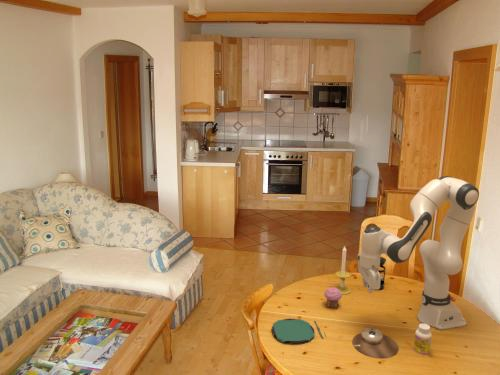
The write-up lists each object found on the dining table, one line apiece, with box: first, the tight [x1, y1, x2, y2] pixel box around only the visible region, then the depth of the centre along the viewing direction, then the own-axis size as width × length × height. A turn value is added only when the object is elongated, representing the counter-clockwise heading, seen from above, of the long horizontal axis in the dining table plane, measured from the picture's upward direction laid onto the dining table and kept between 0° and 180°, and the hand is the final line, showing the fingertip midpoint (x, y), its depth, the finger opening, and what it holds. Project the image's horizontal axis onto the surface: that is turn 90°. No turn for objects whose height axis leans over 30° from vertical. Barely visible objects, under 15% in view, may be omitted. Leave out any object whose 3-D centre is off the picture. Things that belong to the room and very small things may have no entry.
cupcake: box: [324, 286, 343, 309], centre depth 237 cm, size 9×9×10 cm
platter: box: [351, 332, 400, 360], centre depth 202 cm, size 20×20×1 cm
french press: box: [367, 256, 387, 291], centre depth 257 cm, size 12×9×23 cm
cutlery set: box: [271, 318, 327, 344], centre depth 214 cm, size 20×30×2 cm, turn 97°
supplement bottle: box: [413, 323, 433, 356], centre depth 197 cm, size 7×7×13 cm
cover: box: [361, 327, 384, 345], centre depth 206 cm, size 9×9×3 cm
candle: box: [334, 245, 352, 295], centre depth 252 cm, size 10×10×27 cm
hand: (367, 289), depth 210 cm, fingers open, 4 cm apart
